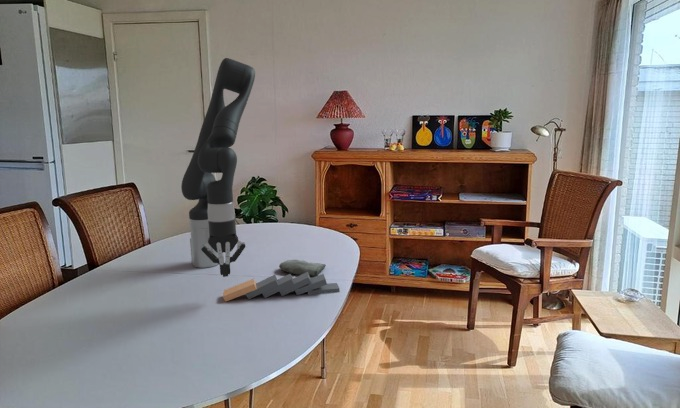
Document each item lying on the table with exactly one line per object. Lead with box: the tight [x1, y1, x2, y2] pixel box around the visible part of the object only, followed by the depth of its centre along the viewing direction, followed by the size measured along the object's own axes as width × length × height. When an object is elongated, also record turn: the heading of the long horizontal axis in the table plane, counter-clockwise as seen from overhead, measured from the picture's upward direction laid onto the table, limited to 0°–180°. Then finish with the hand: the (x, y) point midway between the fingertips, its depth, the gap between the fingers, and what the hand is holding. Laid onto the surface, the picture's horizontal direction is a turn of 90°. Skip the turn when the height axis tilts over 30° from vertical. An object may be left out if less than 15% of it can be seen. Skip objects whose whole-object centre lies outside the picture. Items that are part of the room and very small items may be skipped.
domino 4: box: [279, 272, 311, 297], centre depth 151 cm, size 2×5×10 cm
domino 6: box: [307, 282, 340, 295], centre depth 153 cm, size 2×5×10 cm
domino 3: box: [261, 273, 294, 299], centre depth 150 cm, size 2×5×10 cm
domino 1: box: [222, 278, 256, 302], centre depth 148 cm, size 2×5×10 cm
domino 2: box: [245, 274, 278, 300], centre depth 149 cm, size 2×5×10 cm
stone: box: [278, 259, 326, 277], centre depth 171 cm, size 11×4×15 cm
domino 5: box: [294, 273, 328, 296], centre depth 152 cm, size 2×5×10 cm
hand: (225, 275), depth 147 cm, fingers closed
